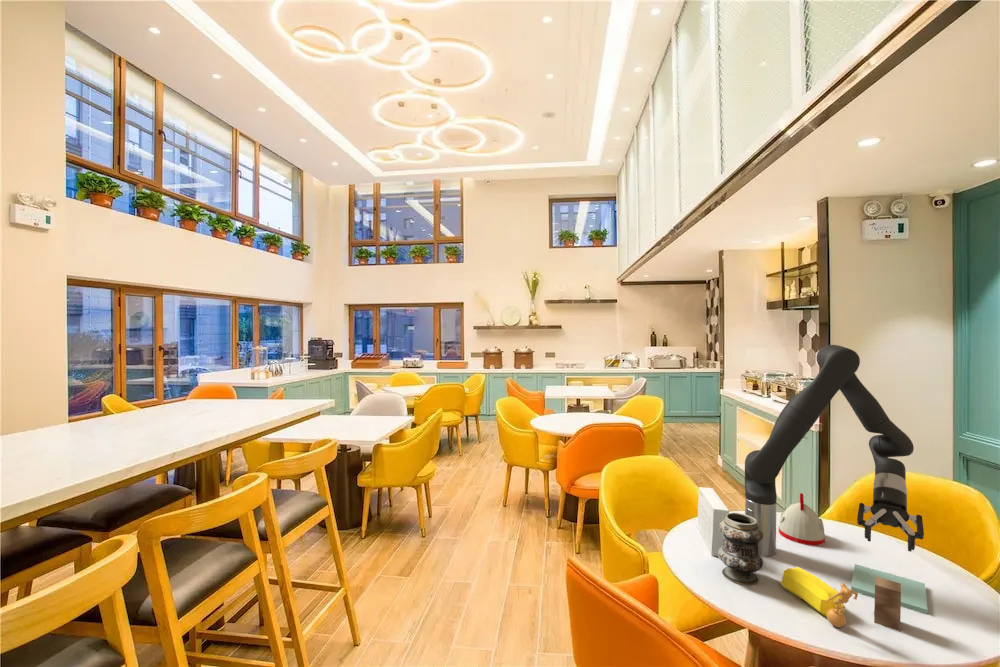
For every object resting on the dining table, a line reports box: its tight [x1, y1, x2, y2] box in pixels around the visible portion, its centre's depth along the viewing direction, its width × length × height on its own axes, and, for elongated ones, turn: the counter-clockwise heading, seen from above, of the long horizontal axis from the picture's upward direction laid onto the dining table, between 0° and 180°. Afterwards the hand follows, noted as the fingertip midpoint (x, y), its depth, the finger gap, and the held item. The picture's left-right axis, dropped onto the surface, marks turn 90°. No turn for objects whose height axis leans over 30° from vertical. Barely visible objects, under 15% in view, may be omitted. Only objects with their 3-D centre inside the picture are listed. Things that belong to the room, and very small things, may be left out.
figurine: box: [826, 582, 859, 628], centre depth 113 cm, size 8×6×12 cm
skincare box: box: [696, 486, 730, 557], centre depth 158 cm, size 21×6×16 cm, turn 168°
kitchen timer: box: [778, 492, 826, 546], centre depth 162 cm, size 14×14×15 cm
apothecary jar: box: [717, 512, 764, 586], centre depth 136 cm, size 12×12×18 cm
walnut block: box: [873, 577, 902, 632], centre depth 116 cm, size 5×5×10 cm
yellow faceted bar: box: [780, 566, 845, 617], centre depth 125 cm, size 18×7×8 cm
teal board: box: [850, 563, 929, 615], centre depth 130 cm, size 16×16×1 cm
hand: (889, 545), depth 125 cm, fingers open, 8 cm apart
